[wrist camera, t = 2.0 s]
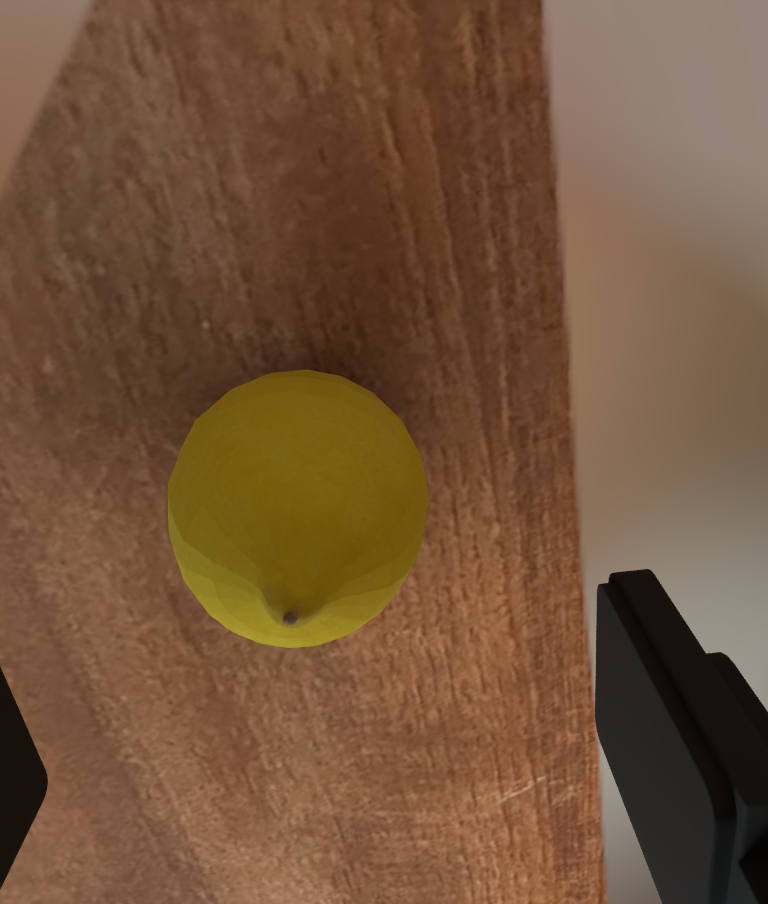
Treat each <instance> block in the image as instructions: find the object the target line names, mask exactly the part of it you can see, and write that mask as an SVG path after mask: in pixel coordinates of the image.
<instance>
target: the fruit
mask: <svg viewBox="0 0 768 904" xmlns="http://www.w3.org/2000/svg"><path fill="white" fill-rule="evenodd" d="M428 496H429V493H428V488H427V482H426V476H425V471H424V465H423V460H422V458H421V456H420V453H419V451H418V449H417V447H416V446H415V444H414V442H413V440H412V438H411V437H410V435H409V433H408V431H407V429H406V427H405V426H404V424H403V422H402V420H401V419H400V418H399V417H398V416H397V415H396V414H395V413H394V412H393V411H392V410H391V409H390V408H388V407H387V406H386V405H385V404H384V403H383V402H382V401H381V400H380V399H379V398H378V397H377V396H376V395H375V394H374V393H373V392H371V391H369V390H367V389H365V388H363V387H362V386H360V385H358V384H356V383H354V382H352V381H350V380H348V379H346V378H344V377H342V376H339V375H334V374H329V373H323V372H318V371H313V370H308V369H306V370H295V371H285V372H274V373H270V374H266V375H263V376H261V377H259V378H256V379H254V380H252V381H249V382H247V383H245V384H242V385H240V386H238V387H235V388H233V389H231V390H230V391H229V392H227V393H226V394H225V395H224V396H223V397H222V398H220V399H219V400H218V401H217V402H216V403H215V404H214V405H212V406H211V407H210V408H209V409H208V410H207V411H206V412H204V413H203V414H202V415H201V416H200V417H199V418H198V419H196V420H195V422H194V424H193V426H192V428H191V430H190V432H189V434H188V436H187V437H186V439H185V441H184V443H183V446H182V448H181V451H180V453H179V456H178V459H177V461H176V464H175V466H174V469H173V472H172V474H171V477H170V479H169V482H168V525H169V537H170V540H171V543H172V547H173V550H174V553H175V556H176V559H177V561H178V564H179V567H180V570H181V573H182V575H183V578H184V581H185V582H186V584H187V585H188V587H189V588H190V589H191V591H192V592H193V594H194V595H195V596H196V598H197V599H198V600H199V602H200V603H201V604H202V605H203V607H204V608H205V609H206V611H207V612H208V613H209V615H210V616H212V617H213V618H214V619H216V620H217V621H218V622H220V623H221V624H222V625H224V626H225V627H227V628H228V629H229V630H231V631H232V632H233V633H236V634H238V635H241V636H243V637H246V638H248V639H250V640H253V641H255V642H258V643H260V644H267V645H274V646H280V647H287V648H294V647H305V646H317V645H321V644H324V643H327V642H329V641H332V640H335V639H338V638H341V637H344V636H346V635H348V634H349V633H351V632H353V631H355V630H356V629H358V628H359V627H361V626H362V625H363V624H365V623H366V622H368V621H369V620H371V619H372V618H373V617H375V616H376V615H378V614H379V613H381V612H382V611H383V609H384V608H385V607H386V605H387V604H388V603H389V602H390V600H391V599H392V598H393V596H394V595H395V594H396V592H397V591H398V590H399V588H400V587H401V585H402V584H403V582H404V581H405V579H406V577H407V575H408V574H409V572H410V570H411V568H412V566H413V564H414V563H415V561H416V559H417V556H418V553H419V550H420V548H421V545H422V540H423V534H424V528H425V522H426V516H427V509H428Z"/></svg>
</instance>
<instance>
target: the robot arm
mask: <svg viewBox="0 0 768 904" xmlns="http://www.w3.org/2000/svg"><path fill="white" fill-rule="evenodd" d="M595 721H596V728H597V733H598V736H599V740H600V743H601V745H602V748H603V750H604V753H605V756H606V758H607V761H608V764H609V766H610V769H611V771H612V774H613V777H614V779H615V782H616V784H617V787H618V789H619V792H620V795H621V797H622V800H623V803H624V805H625V808H626V810H627V813H628V816H629V818H630V821H631V823H632V826H633V829H634V831H635V834H636V836H637V839H638V842H639V844H640V847H641V849H642V852H643V855H644V857H645V860H646V862H647V865H648V867H649V870H650V873H651V875H652V878H653V880H654V883H655V886H656V888H657V891H658V893H659V896H660V899H661V901H662V904H768V712H767V710H766V709H765V707H764V706H763V705H762V703H761V702H760V700H759V699H758V697H757V696H756V695H755V693H754V692H753V690H752V689H751V687H750V686H749V685H748V683H747V682H746V680H745V679H744V677H743V676H742V675H741V673H740V671H739V670H738V669H737V667H736V666H735V664H734V663H733V662H732V661H731V660H730V659H729V657H728V656H727V655H725V654H723V653H721V652H717V653H708V654H706V653H705V651H704V650H703V648H702V647H701V645H700V644H699V642H698V641H697V639H696V638H695V636H694V634H693V633H692V631H691V630H690V628H689V627H688V625H687V624H686V622H685V621H684V619H683V618H682V616H681V615H680V613H679V612H678V610H677V608H676V607H675V605H674V604H673V602H672V601H671V599H670V598H669V596H668V595H667V593H666V592H665V590H664V589H663V587H662V586H661V584H660V582H659V581H658V580H657V578H656V576H655V575H654V574H653V572H652V571H651V570H649V569H644V570H635V571H626V572H616V573H612V574H610V577H609V582H608V583H604V584H599V585H598V589H597V630H596V689H595ZM47 784H48V779H47V773H46V770H45V768H44V765H43V763H42V761H41V758H40V756H39V754H38V752H37V749H36V747H35V745H34V743H33V740H32V738H31V736H30V733H29V731H28V729H27V727H26V724H25V722H24V720H23V717H22V715H21V713H20V711H19V708H18V706H17V704H16V701H15V699H14V697H13V695H12V692H11V690H10V688H9V685H8V683H7V681H6V679H5V676H4V674H3V672H2V670H1V667H0V889H1V887H2V885H3V883H4V881H5V878H6V876H7V874H8V872H9V870H10V868H11V866H12V864H13V862H14V860H15V858H16V856H17V854H18V852H19V850H20V848H21V845H22V843H23V841H24V839H25V837H26V835H27V833H28V831H29V829H30V827H31V825H32V823H33V821H34V819H35V817H36V814H37V812H38V810H39V808H40V806H41V804H42V802H43V800H44V798H45V795H46V791H47Z"/></svg>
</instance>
